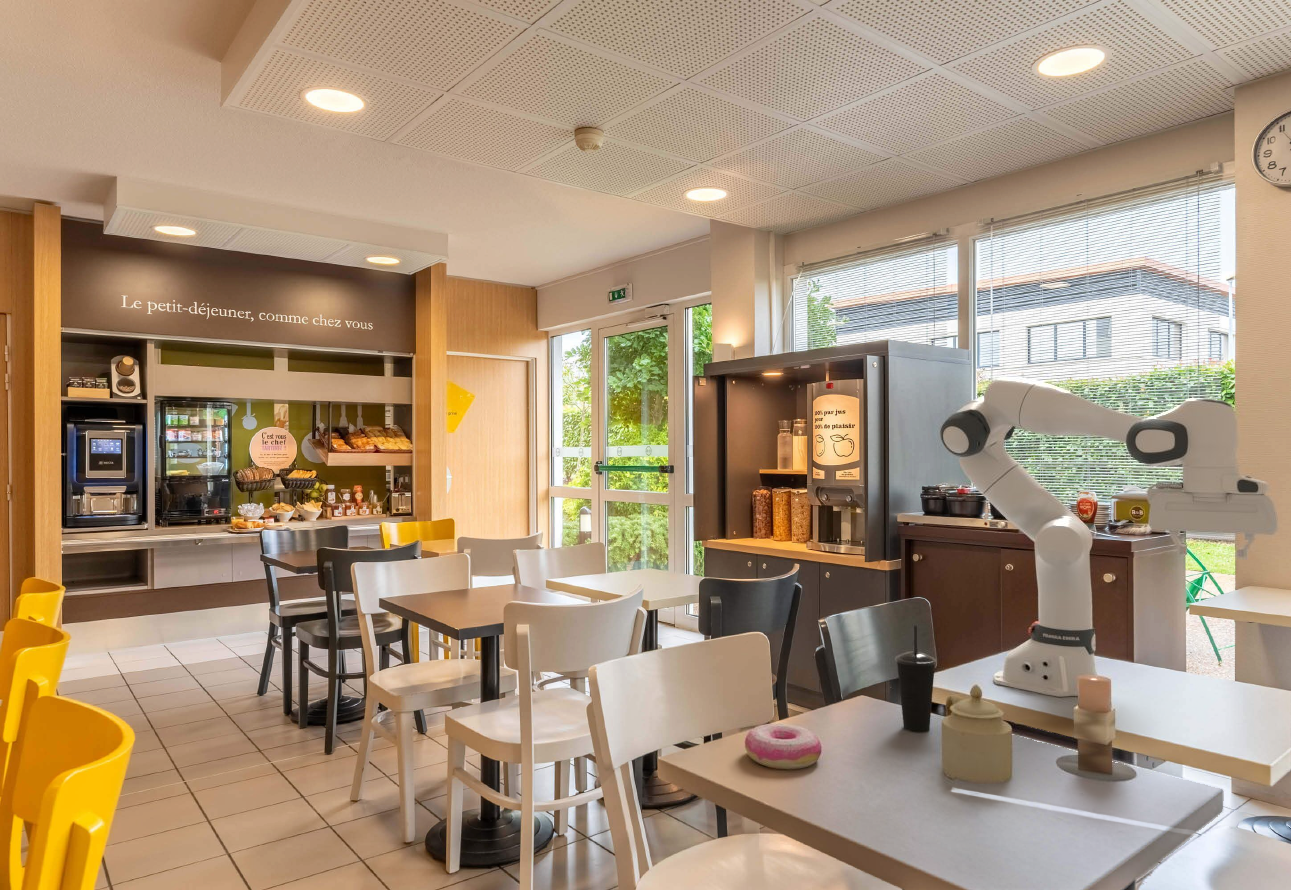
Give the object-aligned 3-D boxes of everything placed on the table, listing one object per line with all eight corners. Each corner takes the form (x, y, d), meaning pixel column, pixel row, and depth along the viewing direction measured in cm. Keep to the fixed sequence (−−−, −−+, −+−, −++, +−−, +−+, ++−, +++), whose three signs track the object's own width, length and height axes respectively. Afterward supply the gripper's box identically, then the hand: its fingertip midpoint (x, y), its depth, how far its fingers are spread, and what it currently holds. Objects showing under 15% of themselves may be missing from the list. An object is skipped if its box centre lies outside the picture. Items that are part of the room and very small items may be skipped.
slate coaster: (1047, 772, 139) (1047, 769, 139) (1065, 753, 148) (1065, 749, 148) (1129, 790, 132) (1129, 786, 132) (1142, 768, 141) (1142, 765, 141)
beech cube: (1074, 737, 140) (1073, 708, 140) (1083, 730, 144) (1083, 701, 144) (1106, 744, 137) (1106, 714, 137) (1115, 737, 140) (1115, 707, 140)
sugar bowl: (910, 762, 144) (909, 676, 145) (952, 751, 150) (951, 667, 150) (983, 792, 132) (982, 697, 132) (1027, 778, 137) (1025, 687, 137)
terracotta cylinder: (1074, 708, 140) (1074, 678, 140) (1081, 701, 144) (1081, 672, 144) (1108, 714, 137) (1107, 683, 137) (1114, 707, 141) (1113, 677, 141)
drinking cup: (896, 732, 160) (894, 628, 160) (896, 720, 167) (895, 621, 168) (937, 736, 158) (936, 631, 158) (936, 723, 165) (935, 623, 165)
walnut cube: (1078, 769, 139) (1077, 739, 139) (1079, 759, 143) (1078, 730, 144) (1112, 774, 137) (1111, 744, 137) (1112, 765, 141) (1111, 735, 141)
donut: (779, 780, 137) (779, 749, 137) (728, 756, 149) (728, 728, 149) (837, 763, 145) (837, 734, 145) (785, 741, 156) (784, 715, 156)
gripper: (1144, 482, 161) (1145, 554, 161) (1276, 484, 148) (1278, 562, 148) (1149, 482, 166) (1150, 551, 165) (1278, 483, 153) (1279, 558, 152)
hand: (1211, 556), depth 156 cm, fingers open, 8 cm apart
